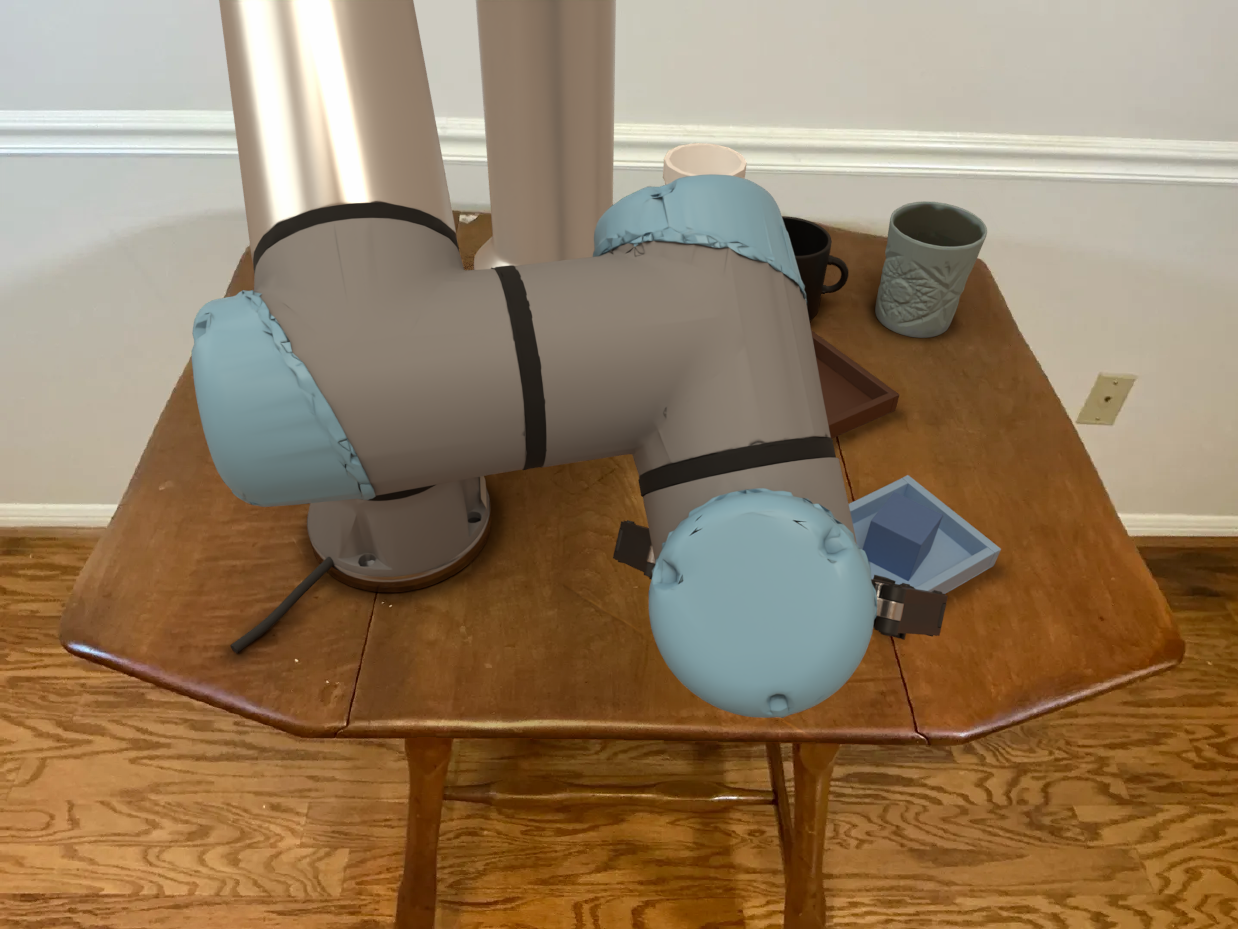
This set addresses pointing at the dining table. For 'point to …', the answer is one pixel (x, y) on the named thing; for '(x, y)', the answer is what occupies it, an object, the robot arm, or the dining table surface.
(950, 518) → the blue tray
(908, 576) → the slate-blue block
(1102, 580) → the dining table surface
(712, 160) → the foam cup
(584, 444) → the robot arm
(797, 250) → the mug
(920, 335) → the drinking glass
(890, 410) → the brown tray
